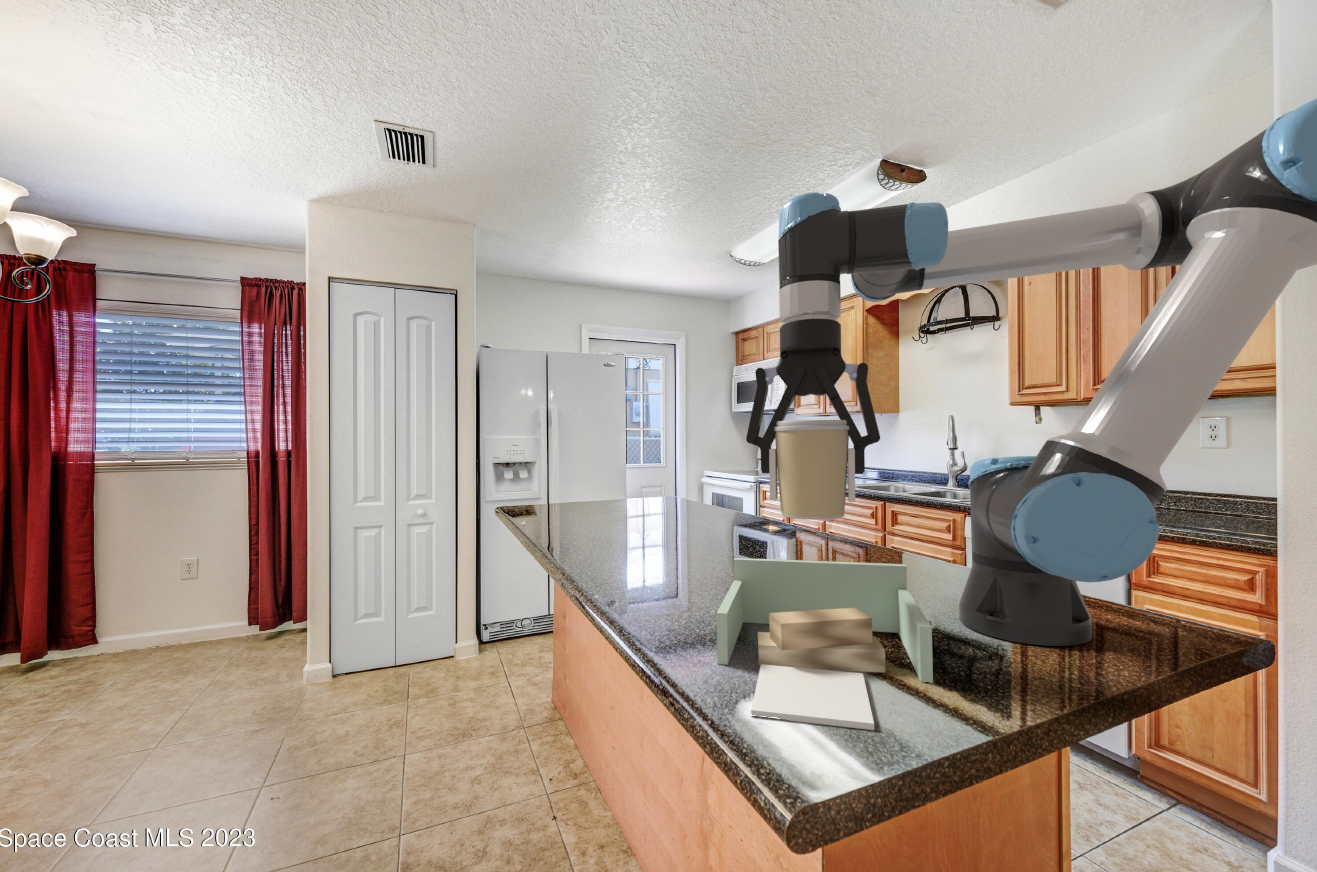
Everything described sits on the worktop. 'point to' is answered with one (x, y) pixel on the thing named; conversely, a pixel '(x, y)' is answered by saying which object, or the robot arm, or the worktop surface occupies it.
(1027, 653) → the worktop surface
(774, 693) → the white square tile
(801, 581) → the screen
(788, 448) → the coffee cup
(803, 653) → the birch offcut
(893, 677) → the worktop surface
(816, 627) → the oak offcut
